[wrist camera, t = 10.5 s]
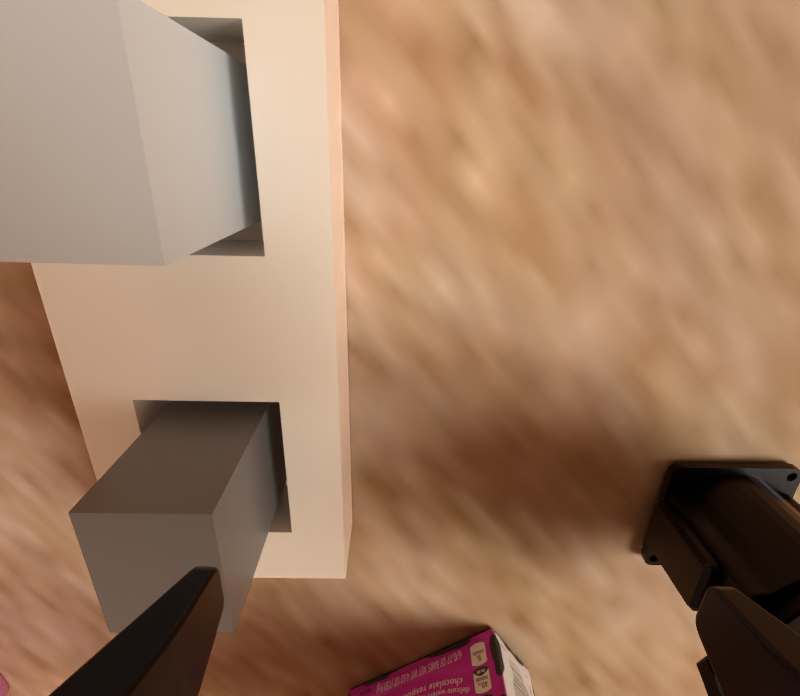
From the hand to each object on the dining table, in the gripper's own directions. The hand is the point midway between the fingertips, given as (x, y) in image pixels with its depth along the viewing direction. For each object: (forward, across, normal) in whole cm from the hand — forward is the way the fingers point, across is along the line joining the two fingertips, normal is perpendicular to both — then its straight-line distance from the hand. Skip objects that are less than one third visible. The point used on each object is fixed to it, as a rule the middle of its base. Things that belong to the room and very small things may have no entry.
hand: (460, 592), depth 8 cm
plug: (+12, +9, -8) cm, 16 cm away
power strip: (+12, +9, -2) cm, 15 cm away
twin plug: (+12, +9, +4) cm, 15 cm away
